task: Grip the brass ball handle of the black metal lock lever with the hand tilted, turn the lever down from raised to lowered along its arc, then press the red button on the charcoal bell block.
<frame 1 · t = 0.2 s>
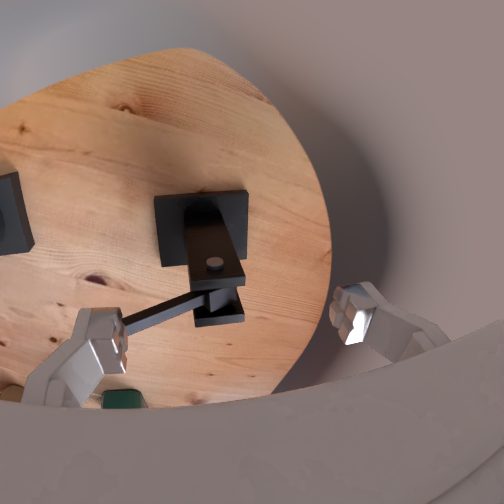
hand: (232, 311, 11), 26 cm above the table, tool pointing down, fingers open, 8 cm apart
pitcher: (122, 400, 51), on the table
lock lever: (157, 314, 23), point 15 cm above the table, hinge at 25.0°
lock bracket: (201, 226, 37), on the table
plant pot: (21, 394, 46), on the table
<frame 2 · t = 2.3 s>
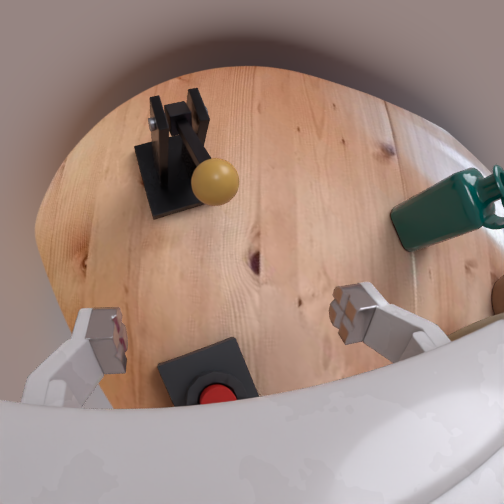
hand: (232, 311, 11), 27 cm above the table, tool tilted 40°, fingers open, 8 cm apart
pitcher: (410, 229, 49), on the table
lock lever: (194, 145, 25), point 15 cm above the table, hinge at 25.0°
bell block: (212, 393, 35), on the table
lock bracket: (174, 174, 40), on the table
plant pot: (445, 355, 46), on the table
bell button: (218, 402, 31), point 5 cm above the table, slide at 0.2 cm
vase: (499, 299, 54), on the table
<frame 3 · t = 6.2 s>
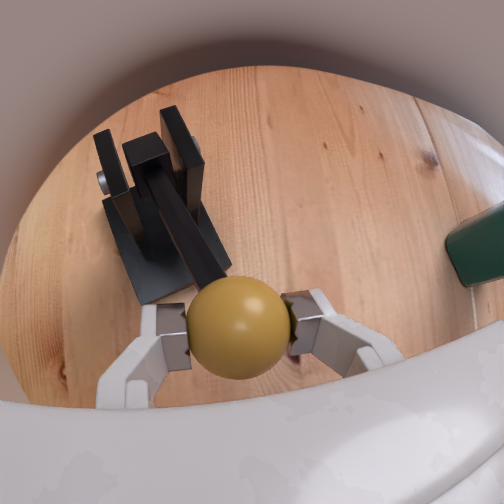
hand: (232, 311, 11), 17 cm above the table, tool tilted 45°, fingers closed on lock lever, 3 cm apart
pitcher: (466, 258, 36), on the table
lock lever: (181, 227, 13), point 15 cm above the table, hinge at 25.0°, touching gripper
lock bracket: (163, 235, 28), on the table
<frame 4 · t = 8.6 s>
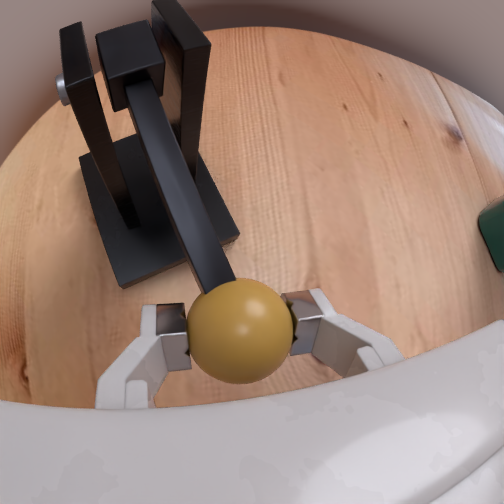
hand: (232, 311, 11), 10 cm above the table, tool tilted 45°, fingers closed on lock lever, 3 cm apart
pitcher: (498, 241, 30), on the table
lock lever: (175, 185, 10), point 12 cm above the table, hinge at -11.2°, touching gripper
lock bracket: (152, 198, 22), on the table
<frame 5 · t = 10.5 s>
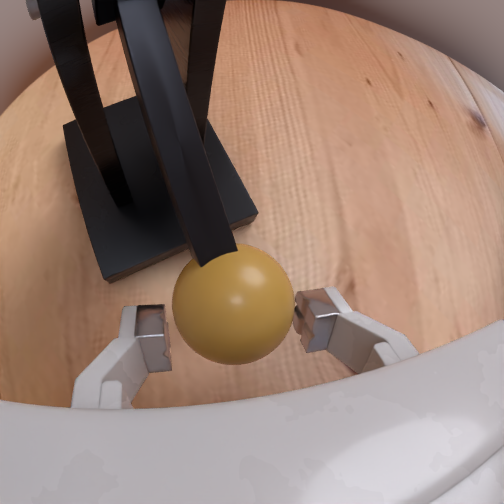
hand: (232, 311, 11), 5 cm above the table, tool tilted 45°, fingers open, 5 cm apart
lock lever: (170, 126, 7), point 10 cm above the table, hinge at -30.3°
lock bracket: (149, 171, 17), on the table
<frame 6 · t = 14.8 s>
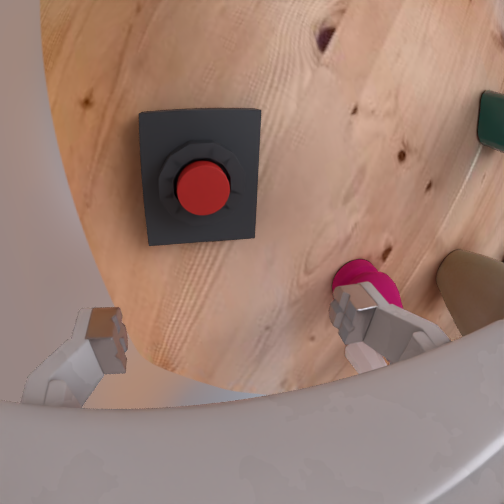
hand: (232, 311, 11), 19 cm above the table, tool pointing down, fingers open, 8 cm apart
pitcher: (490, 123, 31), on the table
bell block: (198, 173, 27), on the table
plant pot: (450, 267, 43), on the table
bell button: (202, 187, 23), point 5 cm above the table, slide at 0.2 cm
pepper shaker: (357, 345, 46), on the table
pepper mill: (352, 278, 38), on the table
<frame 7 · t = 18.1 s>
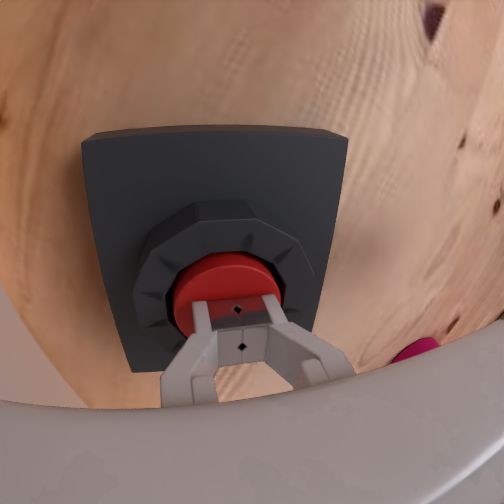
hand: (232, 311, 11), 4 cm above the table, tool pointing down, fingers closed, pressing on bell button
bell block: (213, 251, 15), on the table
bell button: (224, 297, 12), point 4 cm above the table, slide at -0.8 cm, touching gripper
pepper mill: (409, 358, 26), on the table
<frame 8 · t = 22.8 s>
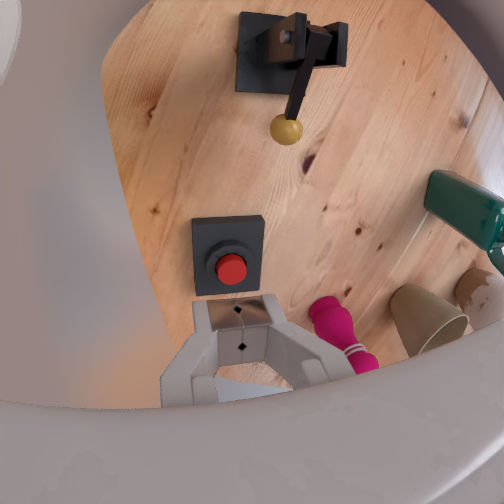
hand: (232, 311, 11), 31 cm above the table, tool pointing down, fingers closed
pitcher: (438, 193, 50), on the table
lock lever: (298, 89, 27), point 10 cm above the table, hinge at -30.3°
bell block: (226, 253, 46), on the table
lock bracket: (271, 54, 33), on the table
plant pot: (402, 297, 63), on the table
bell button: (231, 269, 42), point 5 cm above the table, slide at 0.1 cm
pepper mill: (323, 308, 58), on the table
vase: (465, 282, 69), on the table
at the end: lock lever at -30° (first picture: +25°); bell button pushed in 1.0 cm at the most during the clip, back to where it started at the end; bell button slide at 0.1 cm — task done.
